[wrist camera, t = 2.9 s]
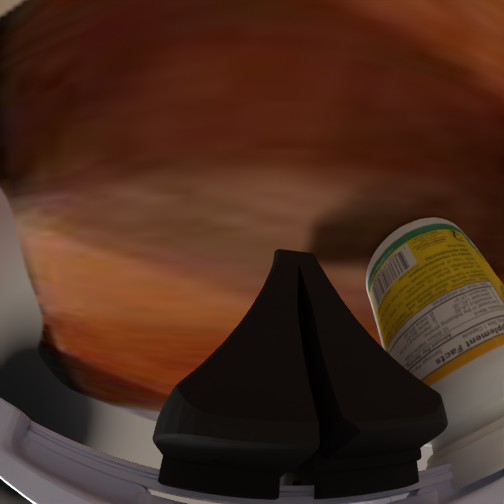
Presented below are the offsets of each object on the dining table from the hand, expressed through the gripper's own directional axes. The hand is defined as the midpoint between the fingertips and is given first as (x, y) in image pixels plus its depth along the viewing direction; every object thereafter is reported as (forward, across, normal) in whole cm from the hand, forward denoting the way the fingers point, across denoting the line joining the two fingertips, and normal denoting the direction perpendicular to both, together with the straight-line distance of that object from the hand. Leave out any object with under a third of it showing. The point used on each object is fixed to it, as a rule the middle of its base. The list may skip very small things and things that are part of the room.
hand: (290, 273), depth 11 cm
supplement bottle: (+2, -6, 0) cm, 6 cm away
